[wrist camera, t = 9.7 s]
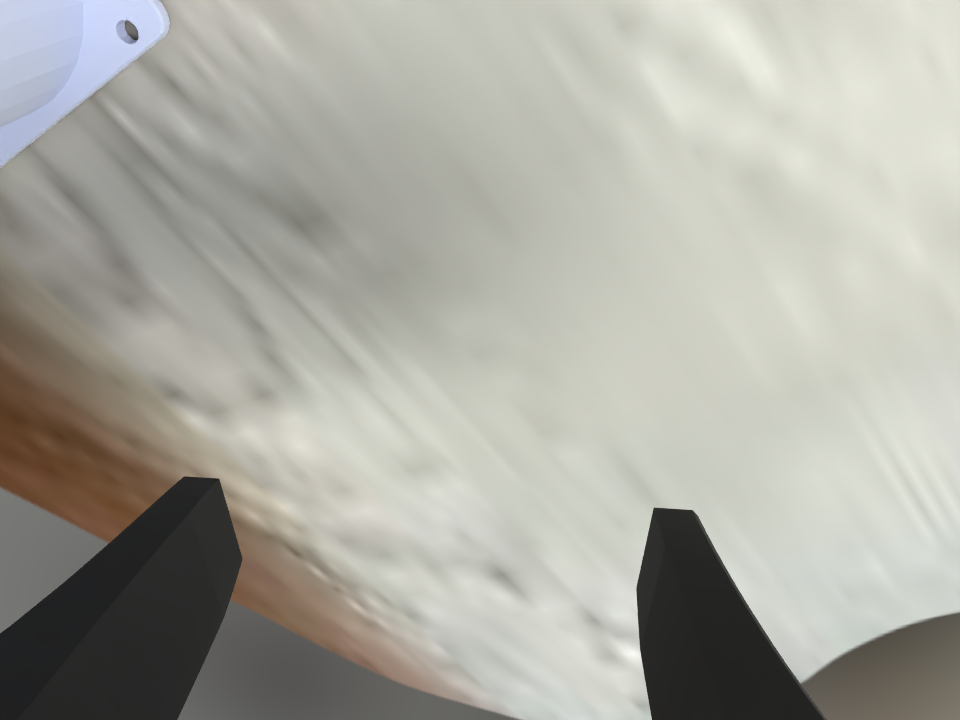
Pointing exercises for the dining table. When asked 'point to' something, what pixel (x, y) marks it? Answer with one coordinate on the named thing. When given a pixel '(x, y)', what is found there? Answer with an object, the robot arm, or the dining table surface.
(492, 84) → the dining table surface
